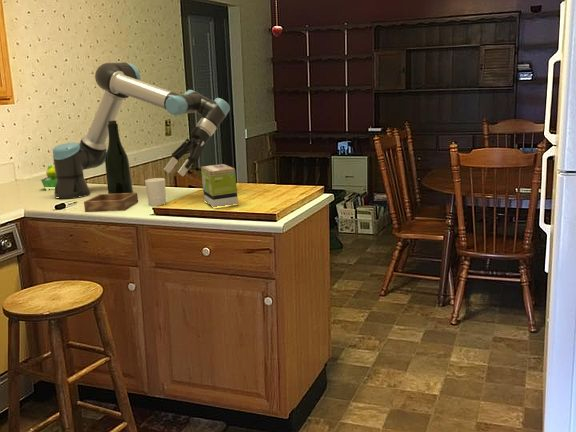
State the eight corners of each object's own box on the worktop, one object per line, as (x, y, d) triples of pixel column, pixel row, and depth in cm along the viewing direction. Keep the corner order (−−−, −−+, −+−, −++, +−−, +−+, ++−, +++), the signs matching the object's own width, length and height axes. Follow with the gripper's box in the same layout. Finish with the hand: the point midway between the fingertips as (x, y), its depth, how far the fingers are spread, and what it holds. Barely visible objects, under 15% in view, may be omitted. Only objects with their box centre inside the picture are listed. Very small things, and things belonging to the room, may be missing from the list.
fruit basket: (43, 191, 303) (39, 168, 300) (41, 189, 310) (38, 166, 308) (67, 188, 307) (64, 165, 305) (66, 186, 315) (63, 163, 312)
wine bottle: (115, 194, 281) (106, 120, 274) (137, 193, 279) (128, 119, 272) (104, 199, 271) (94, 122, 264) (127, 198, 269) (118, 121, 262)
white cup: (148, 203, 256) (146, 178, 254) (168, 201, 257) (165, 177, 254) (146, 207, 248) (143, 182, 246) (166, 205, 249) (163, 180, 247)
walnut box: (85, 212, 246) (83, 201, 245) (101, 203, 261) (99, 194, 260) (124, 210, 244) (123, 200, 243) (138, 202, 259) (137, 192, 259)
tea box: (203, 203, 250) (200, 166, 246) (227, 199, 253) (224, 163, 250) (213, 209, 236) (210, 170, 233) (239, 206, 239) (236, 167, 236)
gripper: (224, 138, 250) (193, 181, 245) (196, 136, 270) (167, 175, 266) (210, 126, 246) (179, 169, 241) (183, 124, 266) (154, 164, 262)
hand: (173, 172), depth 253 cm, fingers open, 13 cm apart
